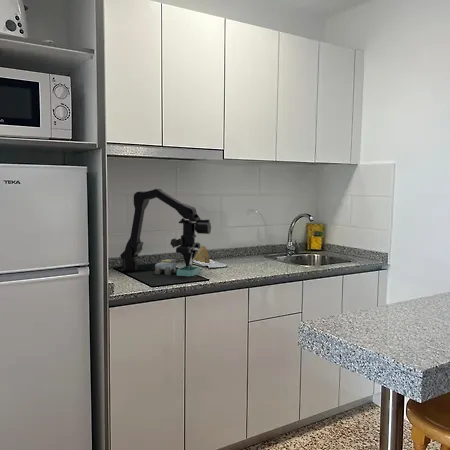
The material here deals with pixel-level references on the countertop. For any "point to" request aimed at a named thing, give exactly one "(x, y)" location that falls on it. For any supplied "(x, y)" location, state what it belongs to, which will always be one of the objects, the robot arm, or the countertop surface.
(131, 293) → the countertop surface
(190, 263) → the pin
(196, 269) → the tray
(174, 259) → the block
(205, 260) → the rock
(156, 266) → the trolley
